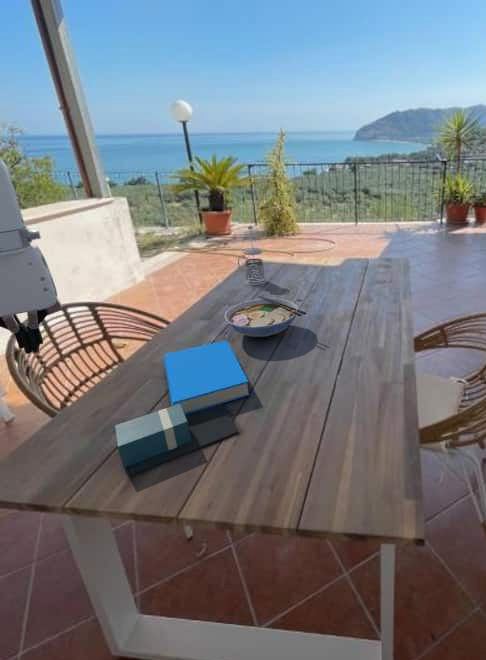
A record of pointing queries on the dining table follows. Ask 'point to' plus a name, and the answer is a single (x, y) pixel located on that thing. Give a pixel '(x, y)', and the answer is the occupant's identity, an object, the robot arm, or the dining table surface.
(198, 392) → the book
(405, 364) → the dining table surface
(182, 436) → the carton
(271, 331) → the ramen bowl
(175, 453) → the mat
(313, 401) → the dining table surface
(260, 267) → the french press
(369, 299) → the dining table surface
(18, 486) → the dining table surface
